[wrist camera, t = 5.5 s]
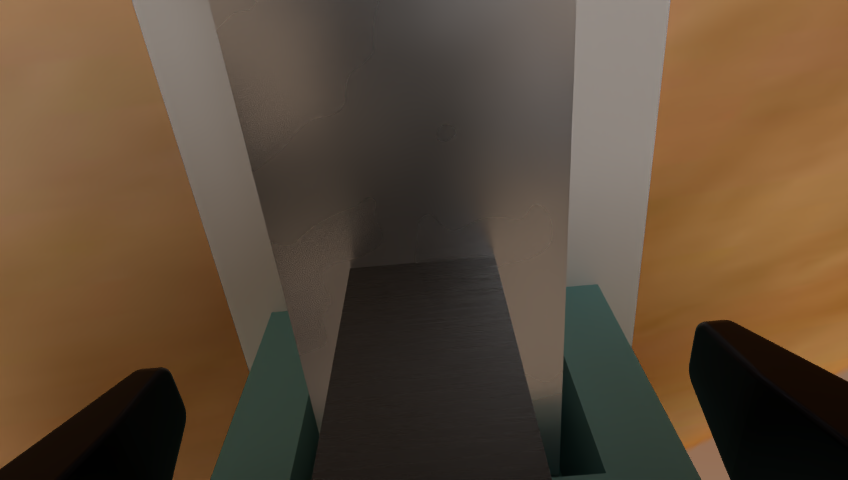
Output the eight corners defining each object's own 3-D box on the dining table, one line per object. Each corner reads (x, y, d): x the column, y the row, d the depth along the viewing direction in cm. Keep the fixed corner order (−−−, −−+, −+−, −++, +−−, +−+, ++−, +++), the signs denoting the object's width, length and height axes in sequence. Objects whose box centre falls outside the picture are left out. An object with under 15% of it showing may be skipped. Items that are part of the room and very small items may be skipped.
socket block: (589, 404, 16) (678, 640, 10) (303, 428, 16) (250, 670, 11) (597, 284, 14) (711, 499, 8) (271, 312, 14) (188, 539, 9)
